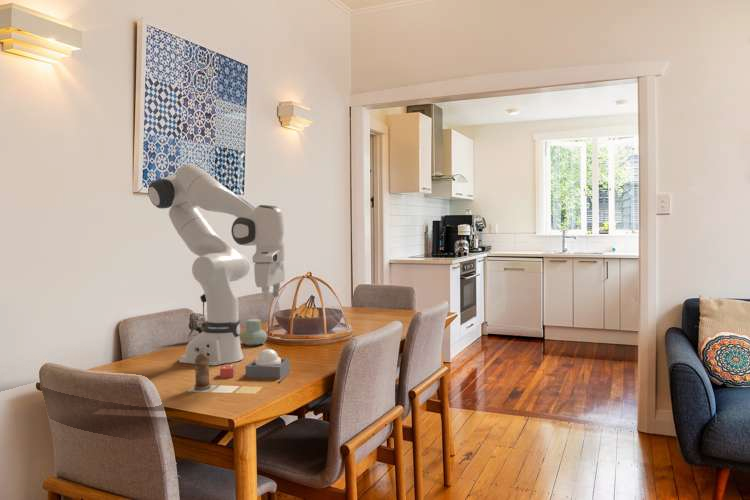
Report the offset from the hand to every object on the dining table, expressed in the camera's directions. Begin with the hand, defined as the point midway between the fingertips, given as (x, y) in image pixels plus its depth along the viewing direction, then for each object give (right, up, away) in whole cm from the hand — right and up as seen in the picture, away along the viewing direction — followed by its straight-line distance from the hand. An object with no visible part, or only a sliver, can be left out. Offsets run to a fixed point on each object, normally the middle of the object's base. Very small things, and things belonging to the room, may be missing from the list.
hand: (271, 298), depth 181 cm
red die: (-13, -25, -3) cm, 29 cm away
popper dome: (-1, -22, 0) cm, 22 cm away
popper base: (-1, -25, 0) cm, 25 cm away
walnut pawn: (-17, -25, -17) cm, 34 cm away
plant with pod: (-40, -23, +57) cm, 73 cm away
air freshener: (-17, -23, +51) cm, 58 cm away
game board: (-10, -26, -17) cm, 33 cm away
